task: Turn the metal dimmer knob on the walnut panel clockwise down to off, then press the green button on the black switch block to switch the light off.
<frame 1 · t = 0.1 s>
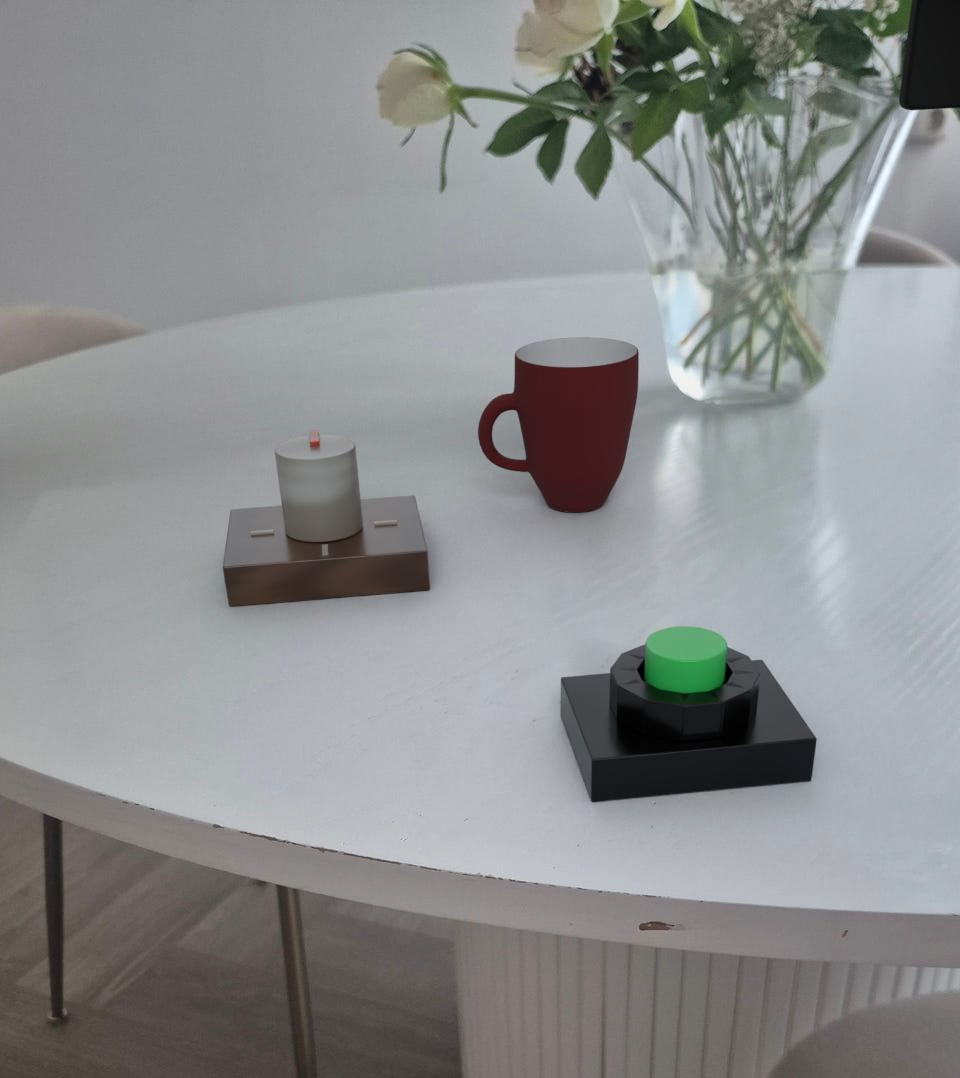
light button: (685, 660, 57), point 4 cm above the table, slide at 0.1 cm
mug: (558, 507, 87), on the table
dimmer knob: (319, 485, 76), point 5 cm above the table, hinge at 90.0°
switch block: (680, 747, 59), on the table
dimmer panel: (328, 567, 79), on the table
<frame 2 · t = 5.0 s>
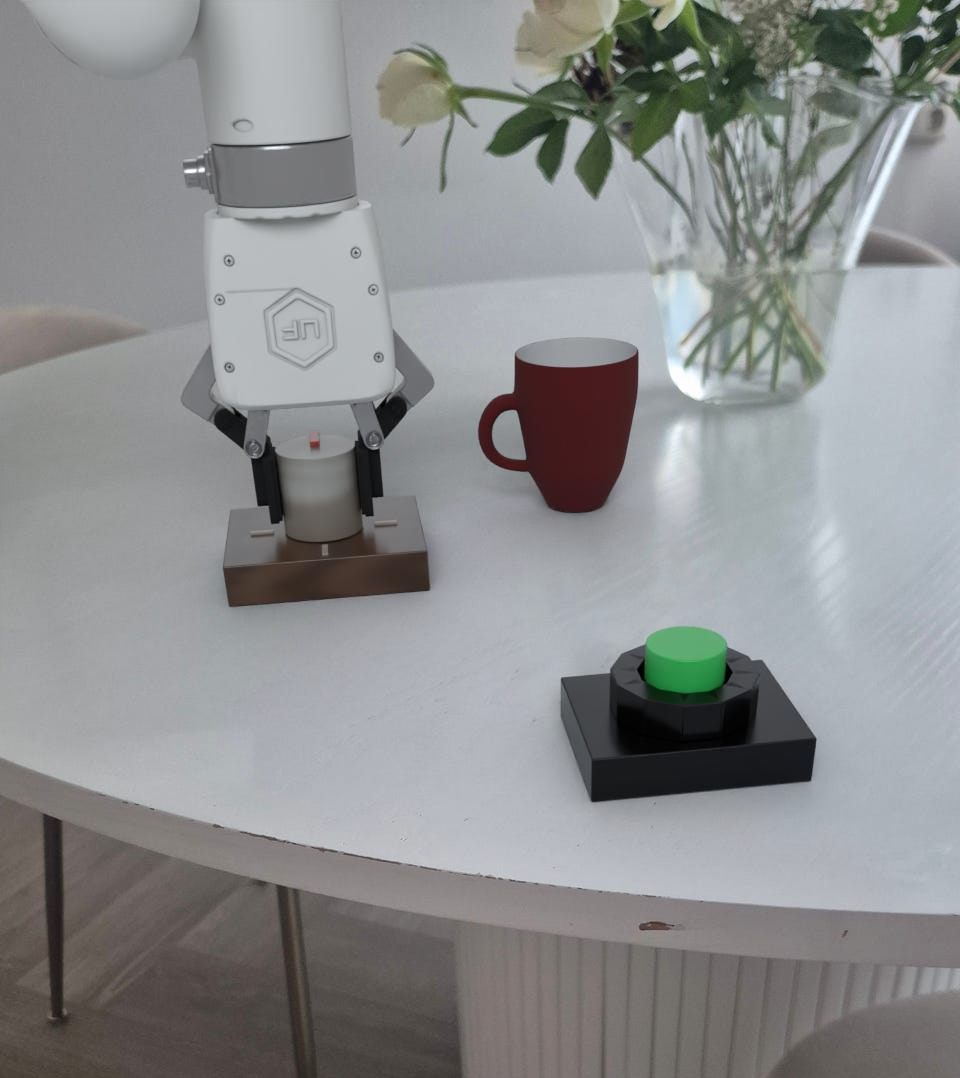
hand: (322, 509, 77), 4 cm above the table, tool pointing down, fingers closed on dimmer knob, 4 cm apart
dimmer knob: (319, 485, 76), point 5 cm above the table, hinge at 90.0°, touching gripper
everything else where it was.
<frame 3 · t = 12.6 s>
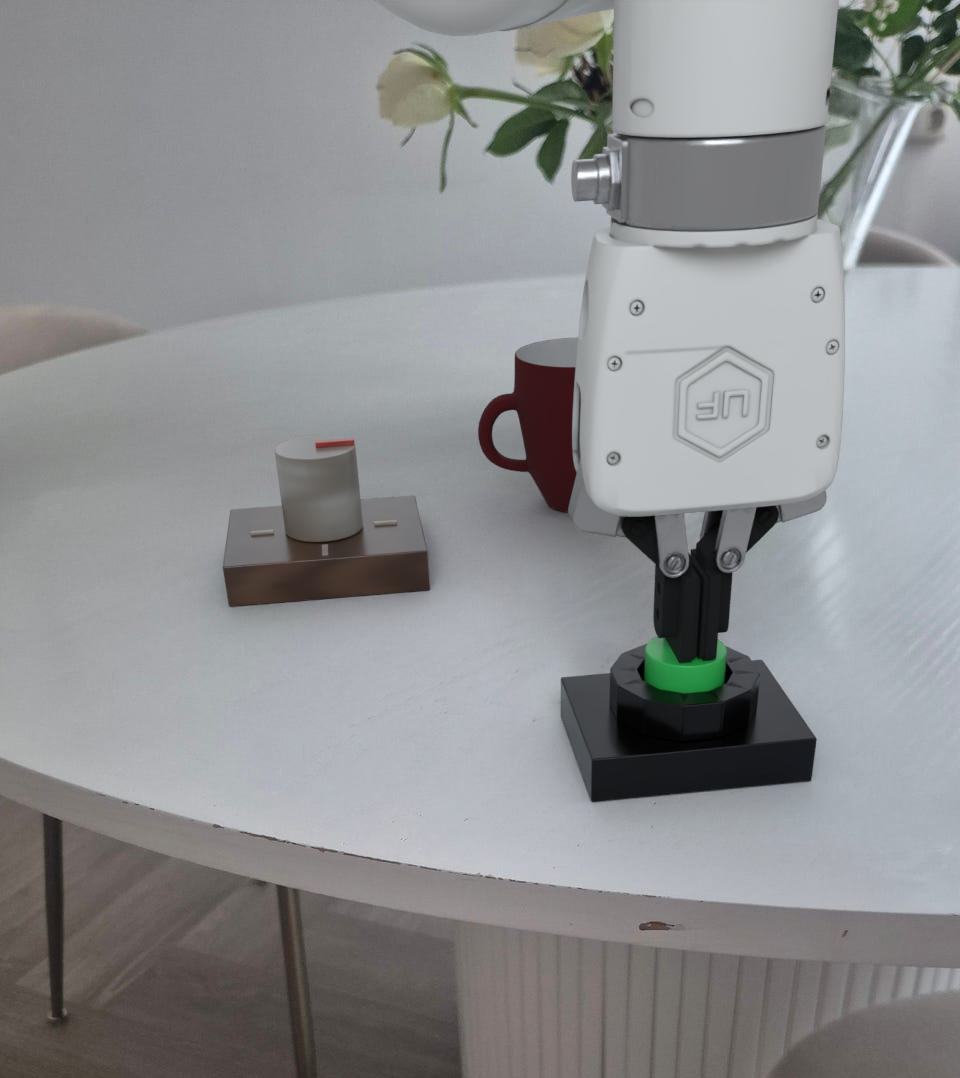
hand: (689, 647, 56), 5 cm above the table, tool pointing down, fingers closed
light button: (684, 666, 57), point 4 cm above the table, slide at -0.2 cm, touching gripper
dimmer knob: (319, 485, 76), point 5 cm above the table, hinge at 0.0°
everything else where it was.
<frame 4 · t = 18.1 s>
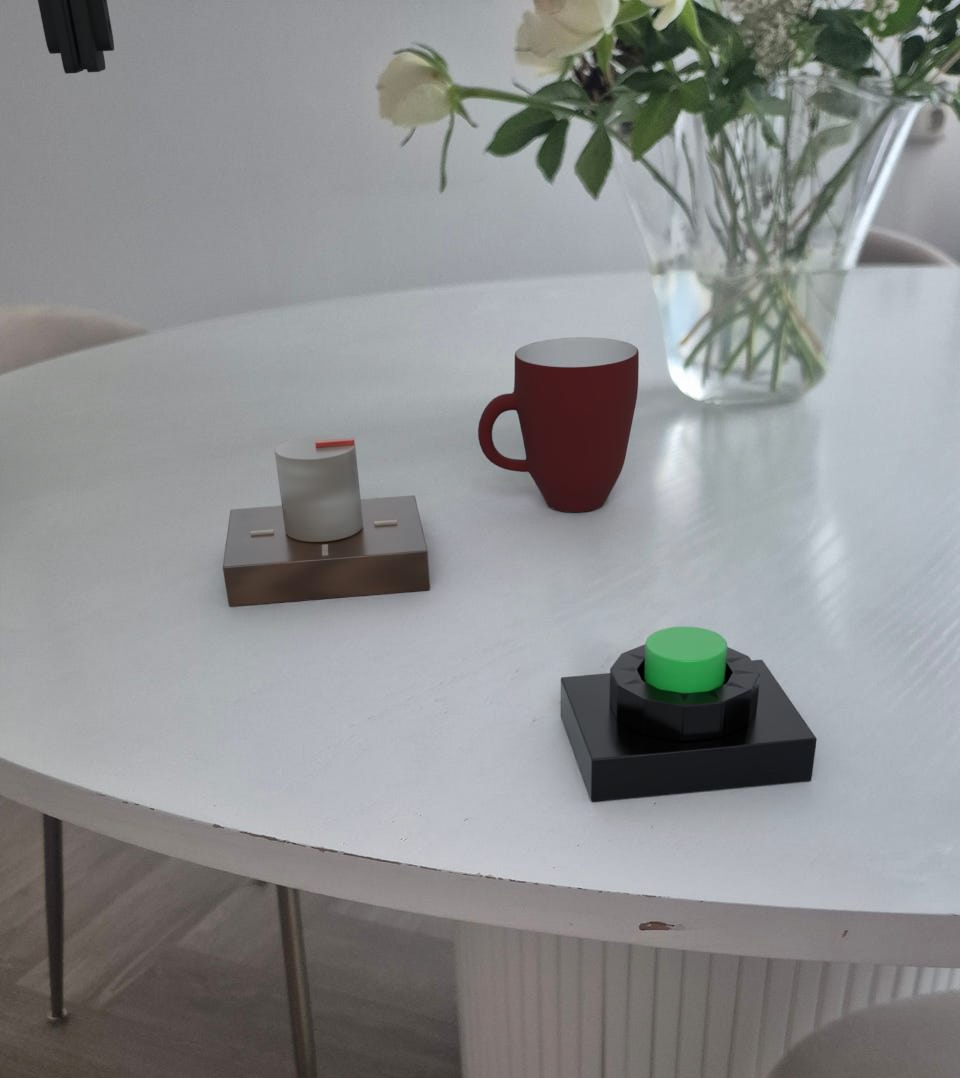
hand: (85, 70, 61), 27 cm above the table, tool pointing down, fingers closed
light button: (685, 660, 57), point 4 cm above the table, slide at 0.1 cm
everything else where it was.
at the end: dimmer knob at +0° (first picture: +90°); light button pushed in 1.1 cm at the most during the clip, back to where it started at the end; light button slide at 0.1 cm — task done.
